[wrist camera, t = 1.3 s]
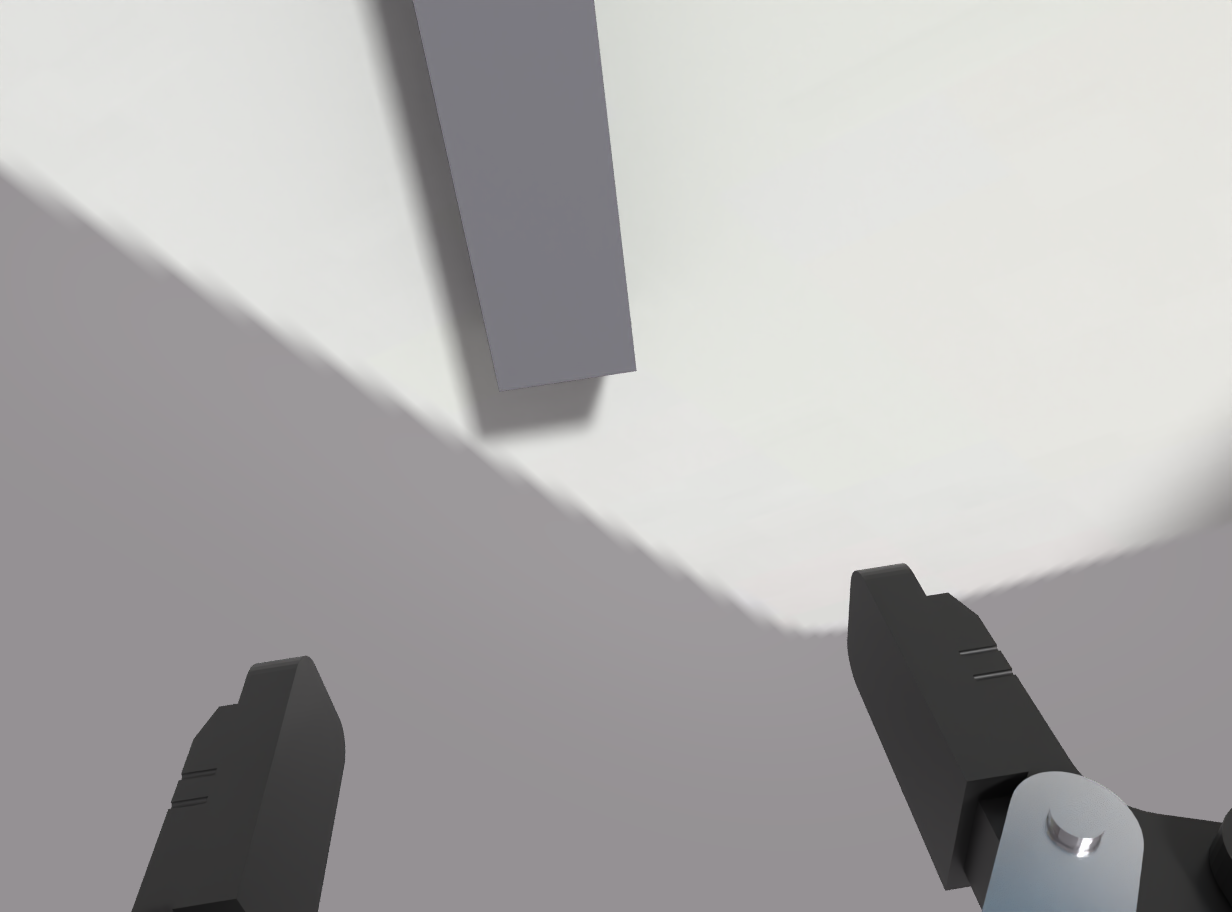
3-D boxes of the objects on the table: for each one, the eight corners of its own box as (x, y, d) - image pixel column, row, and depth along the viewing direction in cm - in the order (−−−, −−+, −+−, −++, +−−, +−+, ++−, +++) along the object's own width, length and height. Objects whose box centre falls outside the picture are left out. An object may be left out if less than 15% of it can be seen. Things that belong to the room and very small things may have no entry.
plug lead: (527, -471, 18) (531, -547, 15) (621, 312, 28) (636, 371, 25) (337, -446, 18) (298, -517, 15) (500, 330, 28) (499, 391, 25)
